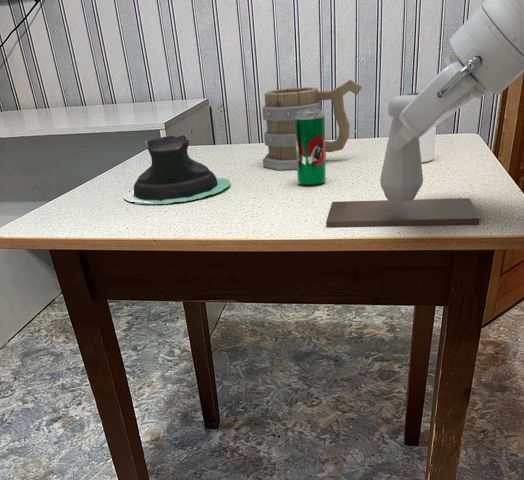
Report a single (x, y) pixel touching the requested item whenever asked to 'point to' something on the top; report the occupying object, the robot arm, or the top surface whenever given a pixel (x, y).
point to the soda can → (310, 147)
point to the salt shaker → (401, 159)
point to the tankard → (283, 121)
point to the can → (426, 142)
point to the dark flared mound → (175, 174)
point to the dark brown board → (402, 213)
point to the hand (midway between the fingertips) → (398, 143)
